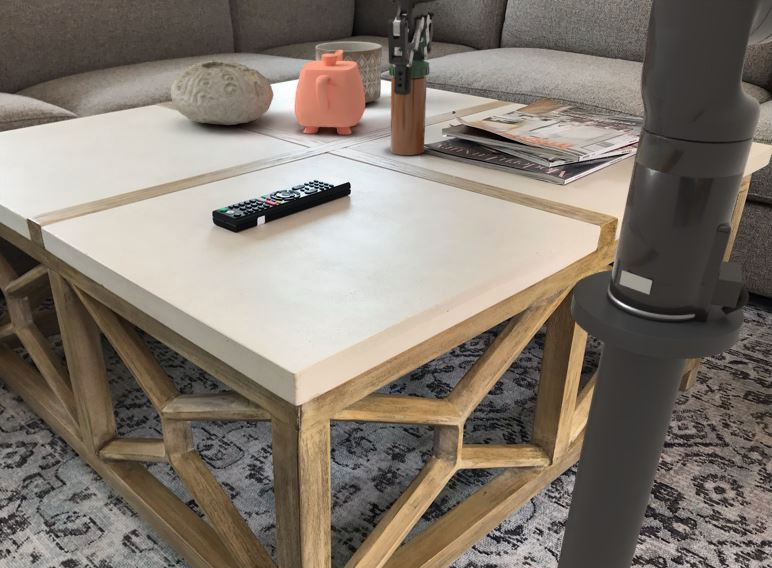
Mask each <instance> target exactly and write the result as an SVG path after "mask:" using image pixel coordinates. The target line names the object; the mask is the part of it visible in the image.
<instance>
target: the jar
mask: <svg viewBox="0 0 772 568" xmlns="http://www.w3.org/2000/svg"><path fill="white" fill-rule="evenodd" d="M390 78H391V79H390V80H391V81H390V144H389V145H390V147H389V148H390V153H392V154H394V155H398V156H415V155H420V154H422V153H424V152H425V142H426V141H425V140H426V139H425V138H426V111H427V85H428V84H427V83H428V75H426V76H422V77H412V78H411V85H410V93H409V94H407V95H399V94H395V92H394V84H395V77H394V76H390Z"/></svg>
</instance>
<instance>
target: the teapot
mask: <svg viewBox="0 0 772 568" xmlns="http://www.w3.org/2000/svg"><path fill="white" fill-rule="evenodd" d="M321 56H322V60H323V61H316V60H312V61H311V60H310V61H309V62H306V63H305V64H304V65H302V68H301V70H300V74H299V77H298V81H297V84H296V89H295V94H294V95H295V97H294V115H295V118H296V120H297V122H298V124H299V126H303V127H304V126H305V128H304V129H303V133H304V134H316V133H318V131H319V128H320V127H321V128H336V131H337V134H339V135H351V134H352V133H353V132H352V129H351V127H354V126H357V124H358V123H359V122H360V121H361V119H362V118H363V115H364V113H365V109H366V103H365V95H364V88H363V84H362V80H361V76H360V72H359V69H358V66H357V63H356V62H353V61H342V56H343V51H342V50H337V51H336V52H335V54H323V55H321Z"/></svg>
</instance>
